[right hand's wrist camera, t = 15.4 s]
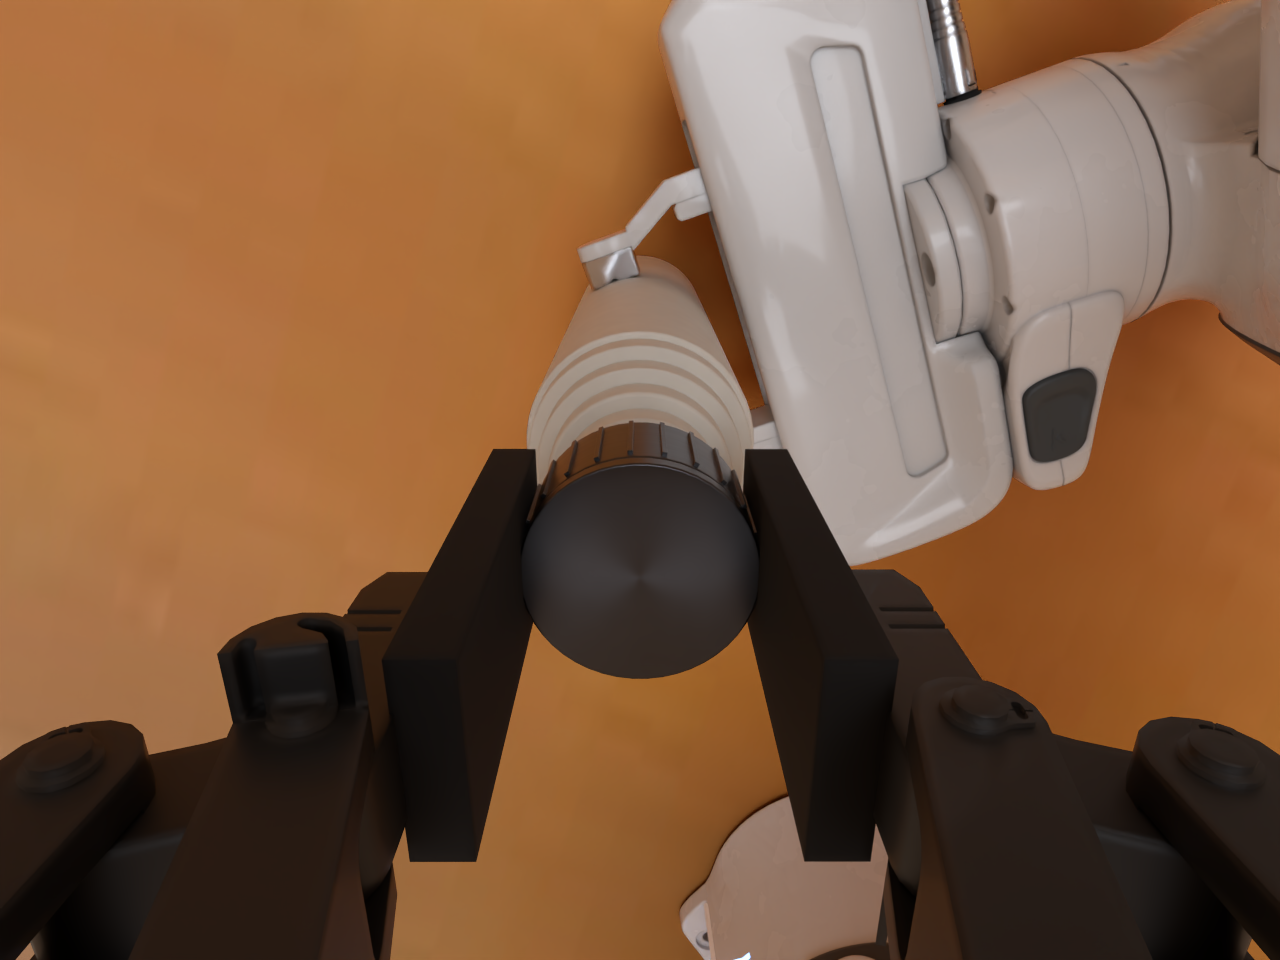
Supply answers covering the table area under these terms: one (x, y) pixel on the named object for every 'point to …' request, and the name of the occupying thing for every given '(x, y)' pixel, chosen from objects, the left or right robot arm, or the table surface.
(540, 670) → the table surface
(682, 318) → the bottle
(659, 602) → the cap
